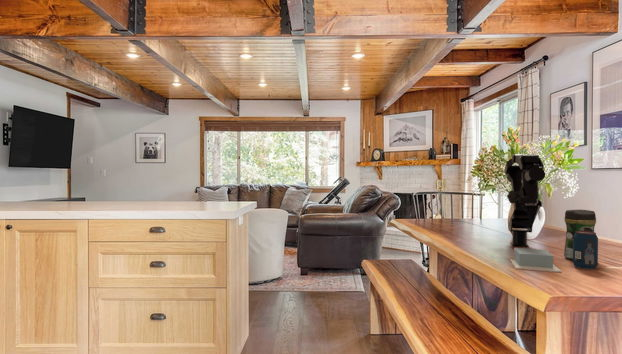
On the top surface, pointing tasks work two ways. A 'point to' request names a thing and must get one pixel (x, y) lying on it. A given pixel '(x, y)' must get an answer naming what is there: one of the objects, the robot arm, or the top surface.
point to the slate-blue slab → (533, 257)
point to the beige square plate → (535, 267)
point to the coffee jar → (577, 227)
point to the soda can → (585, 250)
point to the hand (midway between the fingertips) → (531, 223)
